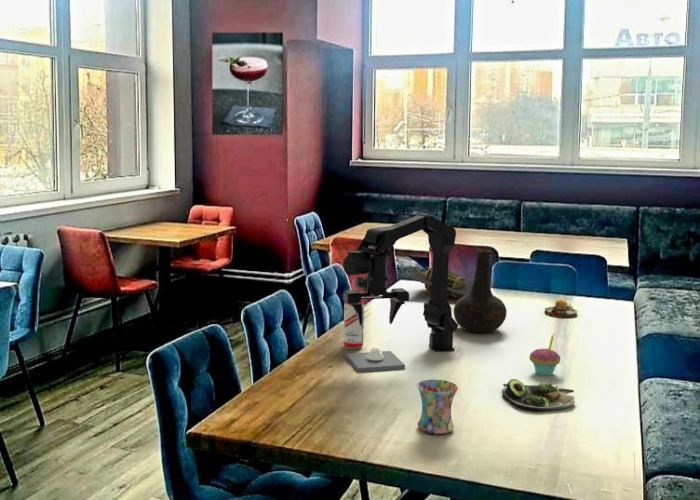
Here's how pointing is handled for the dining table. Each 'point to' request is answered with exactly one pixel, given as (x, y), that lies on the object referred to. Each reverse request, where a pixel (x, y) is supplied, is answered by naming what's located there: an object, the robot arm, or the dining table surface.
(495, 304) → the dark brown vase
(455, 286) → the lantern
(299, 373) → the dining table surface
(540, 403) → the salad plate
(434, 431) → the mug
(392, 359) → the coaster
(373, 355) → the white jar
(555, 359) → the cupcake
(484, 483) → the dining table surface
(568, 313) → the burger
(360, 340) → the beer can
